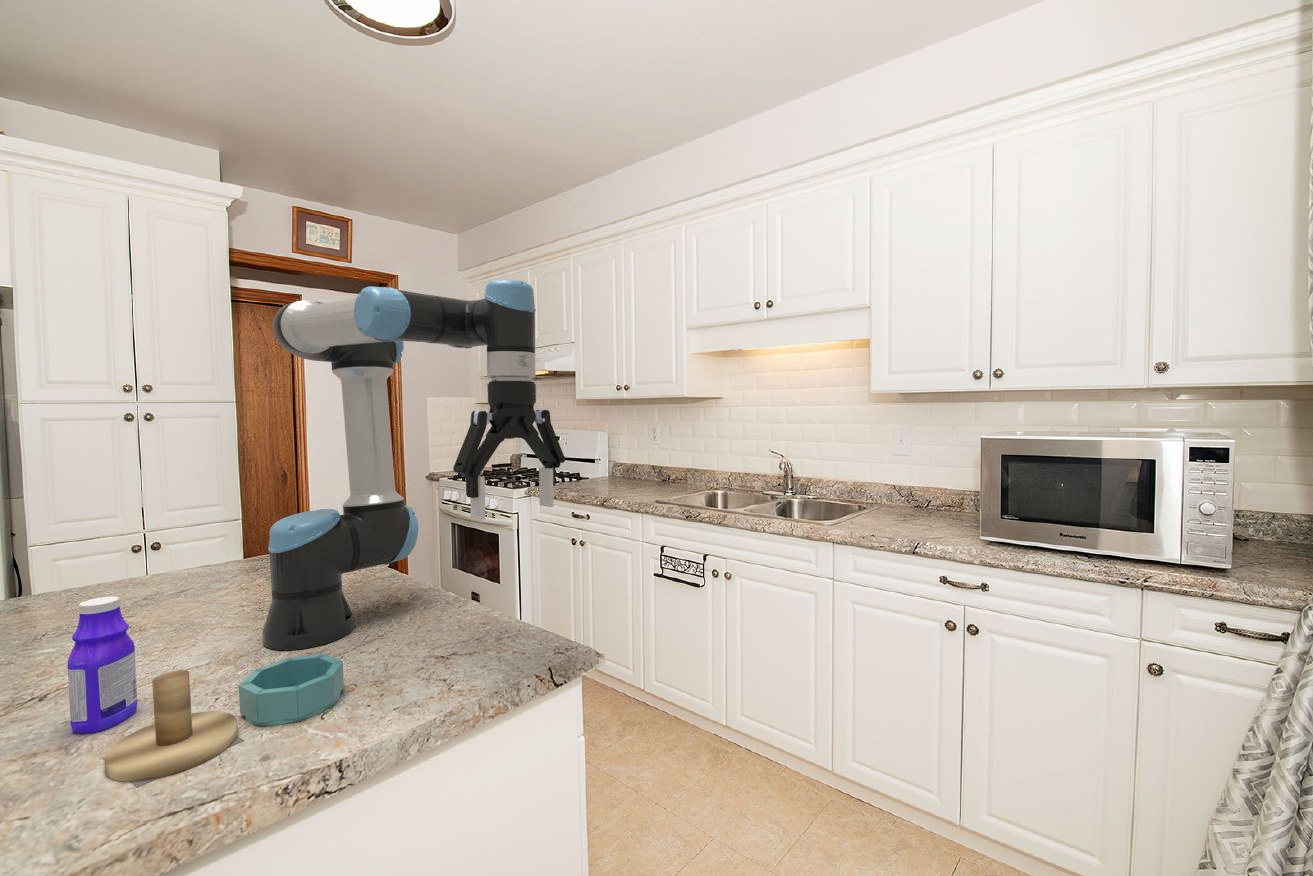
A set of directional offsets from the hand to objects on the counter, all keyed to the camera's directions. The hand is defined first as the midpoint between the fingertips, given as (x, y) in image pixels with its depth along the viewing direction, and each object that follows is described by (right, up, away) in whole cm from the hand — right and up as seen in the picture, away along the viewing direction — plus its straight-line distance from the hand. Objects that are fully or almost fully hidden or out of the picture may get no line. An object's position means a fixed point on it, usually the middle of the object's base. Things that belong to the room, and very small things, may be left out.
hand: (514, 512), depth 95 cm
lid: (-38, -28, -20) cm, 51 cm away
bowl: (-30, -27, -9) cm, 42 cm away
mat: (-38, -28, -20) cm, 52 cm away
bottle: (-54, -28, -13) cm, 62 cm away
